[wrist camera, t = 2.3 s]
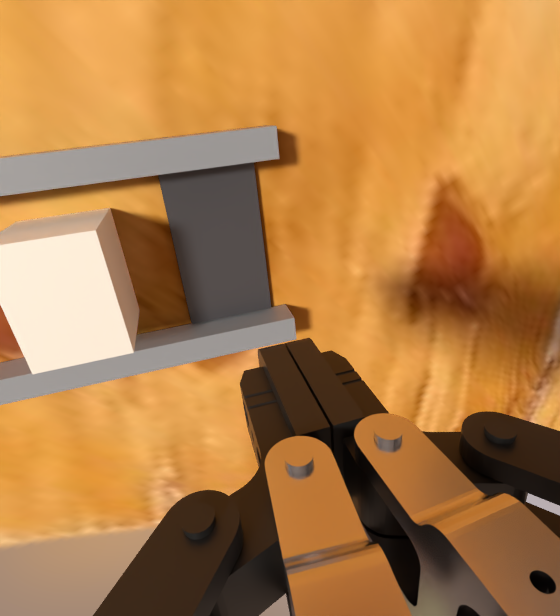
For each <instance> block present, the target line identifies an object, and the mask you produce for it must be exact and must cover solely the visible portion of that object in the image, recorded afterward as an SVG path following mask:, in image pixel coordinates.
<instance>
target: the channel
mask: <svg viewBox="0 0 560 616" xmlns="http://www.w3.org/2000/svg"><path fill="white" fill-rule="evenodd" d="M274 159H279V148H278V138H277V127H276V126H259V127H250V128H242V129H233V130H224V131H216V132H207V133H199V134H190V135H182V136H173V137H165V138H156V139H148V140H139V141H131V142H122V143H114V144H105V145H97V146H88V147H80V148H71V149H63V150H54V151H46V152H37V153H29V154H20V155H11V156H3V157H0V196H5V195H13V194H20V193H28V192H35V191H42V190H50V189H57V188H65V187H72V186H80V185H87V184H95V183H102V182H110V181H117V180H125V179H132V178H139V177H147V176H154V175H158V177H159V181H160V185H161V190H162V194H163V199H164V203H165V208H166V212H167V216H168V221H169V225H170V230H171V234H172V239H173V243H174V247H175V252H176V256H177V261H178V265H179V270H180V274H181V279H182V283H183V287H184V292H185V296H186V301H187V305H188V310H189V314H190V318H191V323H192V324H187V325H182V326H177V327H172V328H167V329H162V330H157V331H153V332H148V333H143V334H138V335H136V341H135V348H134V353H131V354H126V355H121V356H117V357H112V358H107V359H103V360H98V361H93V362H89V363H84V364H79V365H74V366H70V367H65V368H60V369H56V370H51V371H46V372H42V373H37V374H32V372H31V370H30V368H29V366H28V363H27V361H26V359H25V358H20V359H16V360H11V361H6V362H1V363H0V405H2V404H7V403H11V402H16V401H20V400H25V399H29V398H34V397H38V396H43V395H47V394H52V393H56V392H61V391H65V390H70V389H74V388H79V387H83V386H88V385H92V384H97V383H101V382H106V381H110V380H115V379H119V378H124V377H128V376H133V375H137V374H142V373H146V372H151V371H155V370H160V369H164V368H169V367H173V366H178V365H182V364H187V363H191V362H196V361H200V360H205V359H209V358H214V357H218V356H223V355H227V354H232V353H236V352H241V351H245V350H250V349H254V348H259V347H263V346H268V345H272V344H277V343H281V342H286V341H290V340H295V339H296V330H295V319H294V316H293V315H292V313H291V312H290V310H289V309H288V307H287V306H286V304H285V305H280V306H275V307H271V300H270V292H269V284H268V276H267V267H266V259H265V251H264V243H263V234H262V226H261V218H260V210H259V201H258V193H257V185H256V177H255V168H254V162H259V161H266V160H274Z"/></svg>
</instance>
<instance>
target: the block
mask: <svg viewBox="0 0 560 616" xmlns="http://www.w3.org/2000/svg"><path fill="white" fill-rule="evenodd" d="M0 305H1V307H2V309H3V311H4V313H5V316H6V318H7V320H8V322H9V324H10V326H11V329H12V331H13V333H14V335H15V337H16V340H17V342H18V344H19V346H20V348H21V350H22V353H23V355H24V357H25V359H26V361H27V363H28V366H29V368H30V370H31V372H32V374H37V373H42V372H46V371H51V370H56V369H60V368H65V367H70V366H74V365H79V364H84V363H89V362H93V361H98V360H103V359H107V358H112V357H117V356H121V355H126V354H131V353H134V348H135V341H136V334H137V327H138V319H139V312H140V309H139V306H138V302H137V299H136V296H135V292H134V289H133V285H132V282H131V278H130V275H129V271H128V268H127V264H126V261H125V257H124V254H123V250H122V247H121V244H120V240H119V237H118V233H117V230H116V226H115V223H114V219H113V216H112V212H111V209H110V208H105V209H99V210H92V211H85V212H78V213H71V214H64V215H58V216H51V217H44V218H37V219H30V220H24V221H17V222H15V223H13V224H12V225H10V226H9V227H7V228H6V229H4V230H3V231H1V232H0Z"/></svg>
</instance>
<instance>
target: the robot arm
mask: <svg viewBox="0 0 560 616" xmlns="http://www.w3.org/2000/svg"><path fill="white" fill-rule="evenodd" d="M258 359H259V366H260V367H259V368H255V369H250V370H246V371H244V373H243V376H242V379H241V382H240V387H241V393H242V399H243V404H244V410H245V416H246V422H247V427H248V431H249V434H250V438H251V441H252V445H253V448H254V452H255V456H256V459H257V463H258V466H259V469H258V471H257V473H256V474H255V476H254V477H253V478H252V479H251V481H249V482H248V483H247V484H246V485H245V486H244V487H242V488H241V489H239V490H238V491H236V492H234V493H233V494H231V495H230V496H228V495H226V494H224V493H222V492H219V491H215V490H204V491H199V492H195V493H192V494H190V495H188V496H186V497H184V498H182V499H181V500H180V501H178V502H177V503H176V504H175V505H174V506H173V507H172V508H171V509H170V510H169V511H168V512H167V514H166V515H165V517H164V518H163V519H162V521H161V522H160V523H159V525H158V526H157V528H156V529H155V530H154V532H153V533H152V535H151V536H150V537H149V539H148V540H147V541H146V543H145V544H144V546H143V547H142V548H141V550H140V551H139V553H138V554H137V555H136V557H135V558H134V560H133V561H132V562H131V564H130V565H129V566H128V568H127V569H126V571H125V572H124V573H123V575H122V576H121V577H120V579H119V580H118V582H117V583H116V585H115V586H114V587H113V589H112V590H111V591H110V593H109V594H108V595H107V597H106V598H105V600H104V601H103V602H102V604H101V605H100V607H99V608H98V609H97V611H96V612H95V614H94V615H93V616H259V615H260V614H261V613H262V612H264V611H265V610H266V609H267V608H268V607H270V606H271V605H272V604H273V603H274V602H276V601H277V600H278V599H279V598H280V597H282V596H283V595H284V594H285V593H286V597H287V602H288V608H289V612H290V616H560V516H559V515H557V514H554V513H552V512H549V511H547V510H544V509H542V508H539V507H537V506H534V505H532V504H530V503H527V502H526V499H527V495H528V493H529V494H532V495H534V496H537V497H540V498H542V499H545V500H547V501H549V502H552V503H555V504H557V505H560V431H557V430H554V429H551V428H548V427H545V426H541V425H538V424H535V423H532V422H528V421H525V420H522V419H519V418H515V417H512V416H509V415H506V414H502V413H497V412H478V413H475V414H472V415H470V416H468V417H467V418H466V419H465V420H464V422H463V424H462V429H461V432H423V431H421V430H420V429H419V428H418V427H417V426H416V425H415V424H413V423H412V422H411V421H409V420H408V419H406V418H404V417H401V416H398V415H394V414H389V413H388V411H387V410H386V409H385V408H384V406H383V405H382V404H381V403H380V401H379V400H378V399H377V398H376V396H375V395H374V394H373V392H372V391H371V390H370V389H369V387H368V386H367V385H366V384H365V382H364V381H362V380H361V377H360V376H359V375H358V373H357V372H356V371H354V368H353V367H352V366H351V365H350V363H349V362H348V361H347V360H346V358H344V357H342V356H340V355H339V354H337V353H335V352H333V351H327V352H323V353H320V351H319V350H318V348H317V347H316V345H315V344H314V343H313V341H312V340H311V339H310V338H306V339H302V340H297V341H293V342H288V343H285V344H280V345H275V346H271V347H266V348H262V349H258Z"/></svg>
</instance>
